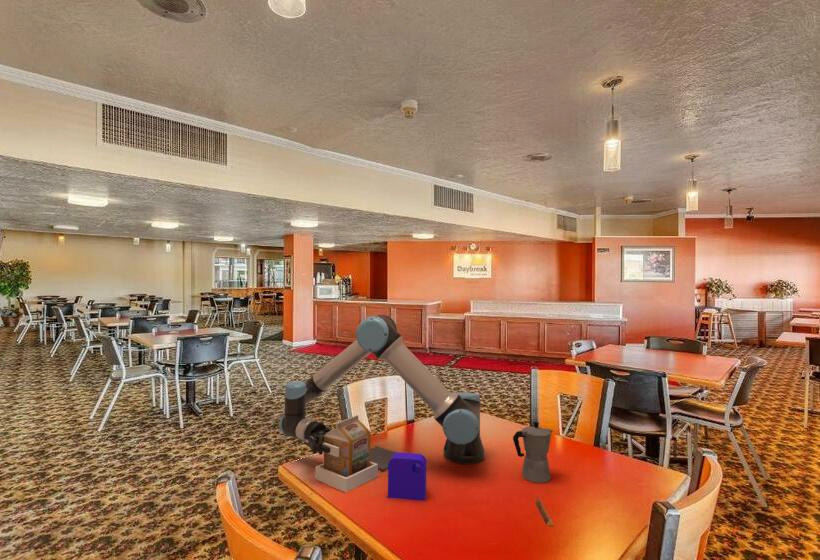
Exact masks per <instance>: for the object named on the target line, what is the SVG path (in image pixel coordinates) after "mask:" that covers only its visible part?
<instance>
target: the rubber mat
mask: <svg viewBox="0 0 820 560" xmlns="http://www.w3.org/2000/svg"><path fill="white" fill-rule="evenodd" d="M397 452H398V451H397ZM397 452H396V451H393V450H390V449H387V448H384V447H381V446H378V445H376V446H374V447H370V461H371V462H373V463H376V464H378V471H380V472H385V471H388V463H389V461H390V459H391V457H392V455H393V454H394V453H397Z"/></svg>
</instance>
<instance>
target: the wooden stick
mask: <svg viewBox="0 0 820 560" xmlns="http://www.w3.org/2000/svg"><path fill="white" fill-rule="evenodd" d="M534 504H535V506H536V508H537V510H538V513H539V514H540V517H541V518H542V521H543V522H544V521H545V522H544V524H545V523H546V524H547V525H553V524H554V523H553V521H552V518H551V517H550V516H549V514H548V512H547V510H546V508H545V506H544V503H543V502H542V501H541V499H540V497H539V496H537V498H536V500H535V502H534ZM546 524H545V525H546Z"/></svg>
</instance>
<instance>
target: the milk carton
mask: <svg viewBox="0 0 820 560" xmlns="http://www.w3.org/2000/svg"><path fill="white" fill-rule="evenodd" d="M335 427H336V428H335V429H334V428H332V429H333V430H331V431H329V432H328V433H326V434H325V435H324V442H323V444H324V443H328V444H330V445H333V446H336V447H339V457H336V456H333V455H330V454H328V453H325V452H323V463H324V469H327V470H329V471H331V472H334V473H336V474H339V475H341V476H344V477H348V476H350V475H353V474H355V473H357V472H359V471H361V470H363V469H365V468H368V467H370V449H371V431H370V430H369V428H368V427H366V425H365V424H364V422H362V421H361V420H360V419H359V415H358V414H357V415H354V416H352V417H350V418H349V417H348V418H346V419H343V420H340V421H339V422H336V425H335Z"/></svg>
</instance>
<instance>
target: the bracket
mask: <svg viewBox="0 0 820 560" xmlns="http://www.w3.org/2000/svg"><path fill="white" fill-rule="evenodd" d="M427 464H428V461H427V458H426V456H425V455H423V454H421V453H414V452H413V453H412V452H398V451H397V453H394V454H393V455H392V457H391V459H390V461H389V463H388V469H387V498H388V499H398V500H410V501H423V502H425V501H426V497H427V470H428V469H427V467H428V466H427Z"/></svg>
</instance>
